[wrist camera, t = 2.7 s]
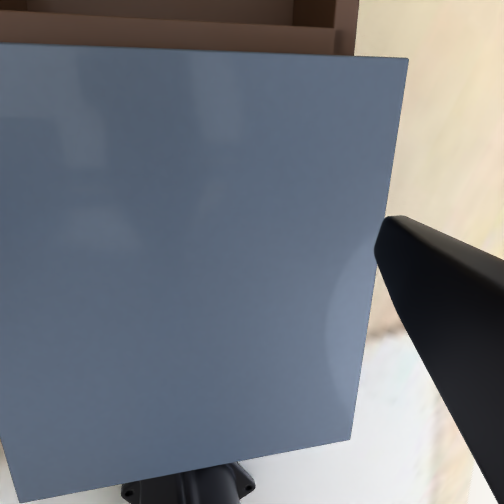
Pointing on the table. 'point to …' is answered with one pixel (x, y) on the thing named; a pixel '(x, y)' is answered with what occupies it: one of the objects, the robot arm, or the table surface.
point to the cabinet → (184, 255)
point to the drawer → (186, 24)
